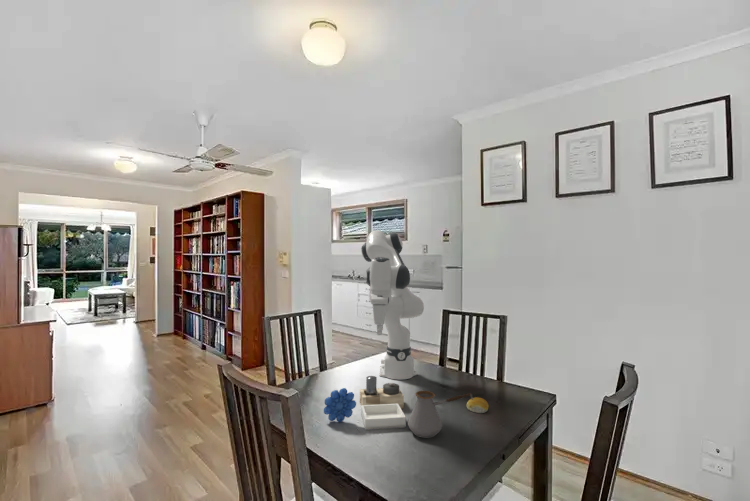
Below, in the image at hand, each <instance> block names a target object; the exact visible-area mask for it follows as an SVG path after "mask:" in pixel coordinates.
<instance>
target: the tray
mask: <svg viewBox="0 0 750 501" xmlns="http://www.w3.org/2000/svg"><path fill="white" fill-rule="evenodd" d="M360 416H361V420H362V424H363V427H364V431H368V430H385V429H386V430H387V429H388V430H389V429H399V428H406V426H407V424H406V421H407V420H406V415H405V413H404V411H403V410H402V409H401V408H400V406H399V404H378V405H361V404H360Z"/></svg>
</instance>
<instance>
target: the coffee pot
mask: <svg viewBox="0 0 750 501" xmlns="http://www.w3.org/2000/svg"><path fill="white" fill-rule="evenodd" d="M435 396H436V394H435V393H434V392H433V391H429V390H418V391H416V392H415V397H416V398H417V400H416V401H415V405H414V406H413V409H412V411H411V414H410V416H409V419H408V422H407V425H408V428H409V430H410V431H412V433H413V434H414V435H416V437H420V438H422V439H423V438H425V439H429V438H433V437H435V436H436V435H437V434H438V433H440V431H441V430H442V428H443V423H442V420H441V418H440V415H439V413H438V411H437V408H436V406H438V405H443V404H445V403H449V402H453V401H459V400H461V399H463V398H464V399H466V397H470V399H472V400H473V398H474V397H473V394H472V392H469V393H463V394H461V395H455V396H452V397H449V398H446V399H443V400H439V401H436V402H434V401H433V400H434V398H435Z"/></svg>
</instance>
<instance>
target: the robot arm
mask: <svg viewBox="0 0 750 501" xmlns="http://www.w3.org/2000/svg"><path fill="white" fill-rule="evenodd" d="M403 245H404V244H403V240H402V238H401V237H400V235H399V234H398V233H390V234H387V235H386V234H385V233H384V232H383V231H381V230H377V229H376V230H373V231H371V232H370V233H369V234H368V235H367V238H366V242H364V243H363V244H362V246H361V248H360V249H361V255H362V257H363V259H364V260H365V262H367V263H370V266H369V268H367V269H366V270H365V271H366V284H367V285H368V286H369V297H368V298H369V299H368V300H369V303H370V304H371V305H372V313H373V314H372V316H373V322H374V325H376V330H377V331H376V334H377V336H382V335H383V331H384V326H385V328H386V331H387V332H386V333H387V346H386V353H385V354H386V355H385V356H384V359H381V360H380V362H381V365H380V367H379V376H380V377H383V378H388V379H390V380H391V379H392V380H407V379H408V380H409V379H411V378H413V377H414V376H417V375H418V372H417V371H415V360H414V359H415V358H414V357H413V356H412V347H411V332H410V329H409V328H408V327H406V326H404V325H402V324H401V319H414V318H417V317H420V316H422V315H423V313H424V309H425V305H424V302H423V300H422V299H421V298H420V297H419V296H417V295H415V294H414V293H413V292H412V291H411V290H410V289H409V288H408V286H409V285H410V282H411V274H410V273H411V272H410V270H409V268H408V267H407V266H406V264H405V262H404V261H403V259H402V257H401V255H400V254H401V253H402V251H403Z"/></svg>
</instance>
